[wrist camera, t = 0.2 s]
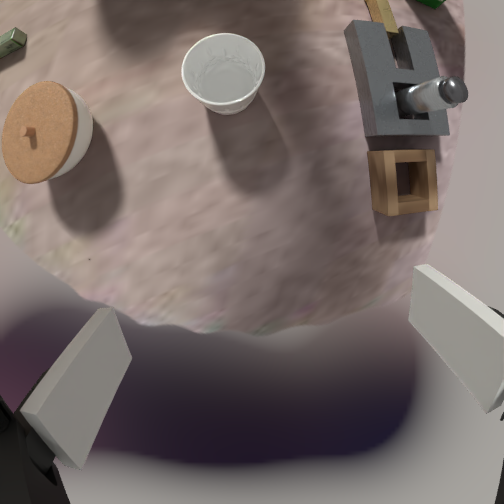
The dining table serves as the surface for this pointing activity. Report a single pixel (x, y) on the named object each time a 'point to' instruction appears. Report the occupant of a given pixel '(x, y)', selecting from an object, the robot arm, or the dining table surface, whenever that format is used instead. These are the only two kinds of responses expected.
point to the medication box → (12, 41)
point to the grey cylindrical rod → (431, 96)
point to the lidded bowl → (46, 132)
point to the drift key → (383, 15)
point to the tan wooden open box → (386, 181)
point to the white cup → (224, 72)
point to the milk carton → (432, 3)
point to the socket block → (392, 78)
